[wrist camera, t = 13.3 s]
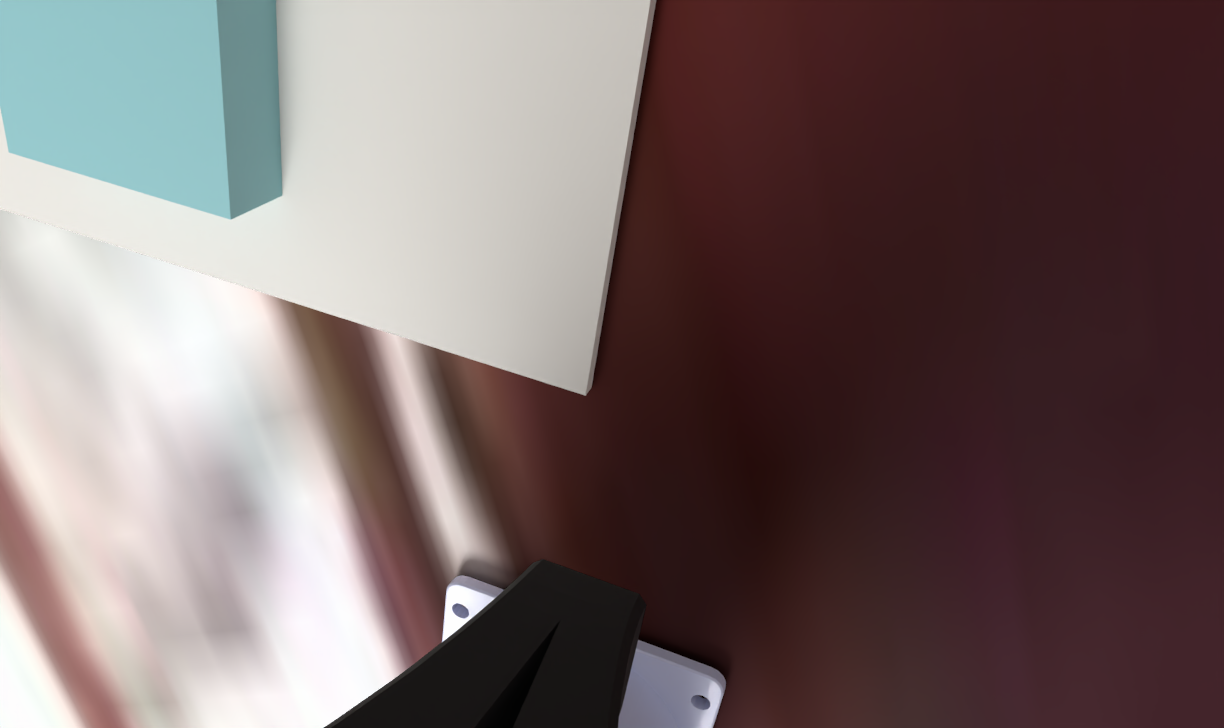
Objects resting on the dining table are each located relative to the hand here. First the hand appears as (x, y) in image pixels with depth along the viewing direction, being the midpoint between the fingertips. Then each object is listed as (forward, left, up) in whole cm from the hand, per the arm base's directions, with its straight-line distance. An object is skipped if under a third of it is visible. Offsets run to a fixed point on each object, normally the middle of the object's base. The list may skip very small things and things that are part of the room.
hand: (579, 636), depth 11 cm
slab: (+4, +11, -9) cm, 14 cm away
